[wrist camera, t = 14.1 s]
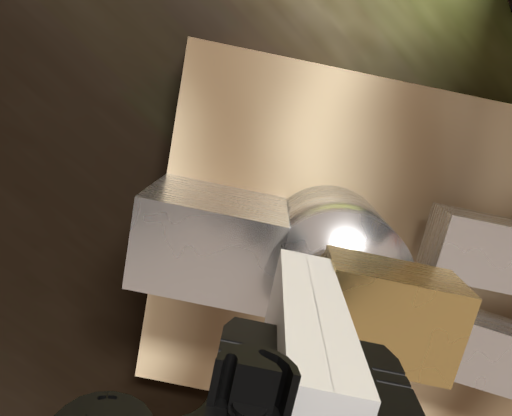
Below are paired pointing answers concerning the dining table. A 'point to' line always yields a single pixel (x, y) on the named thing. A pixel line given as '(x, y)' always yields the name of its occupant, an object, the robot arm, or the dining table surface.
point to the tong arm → (488, 356)
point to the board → (327, 176)
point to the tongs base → (287, 240)
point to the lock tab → (408, 311)
